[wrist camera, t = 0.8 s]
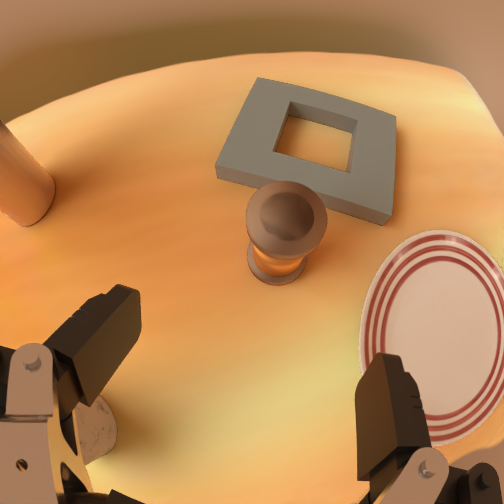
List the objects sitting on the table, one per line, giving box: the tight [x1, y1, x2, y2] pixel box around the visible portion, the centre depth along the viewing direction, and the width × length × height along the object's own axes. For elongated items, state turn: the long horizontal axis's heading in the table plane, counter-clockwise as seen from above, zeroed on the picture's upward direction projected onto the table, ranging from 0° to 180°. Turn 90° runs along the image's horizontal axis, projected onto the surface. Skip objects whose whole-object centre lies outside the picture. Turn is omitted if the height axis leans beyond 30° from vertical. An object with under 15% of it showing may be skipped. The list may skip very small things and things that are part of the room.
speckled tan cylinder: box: [74, 395, 117, 465], centre depth 22 cm, size 10×10×12 cm
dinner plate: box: [359, 230, 504, 446], centre depth 30 cm, size 27×27×3 cm
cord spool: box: [246, 181, 327, 286], centre depth 29 cm, size 7×7×11 cm
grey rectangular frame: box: [215, 77, 396, 226], centre depth 38 cm, size 22×18×3 cm
